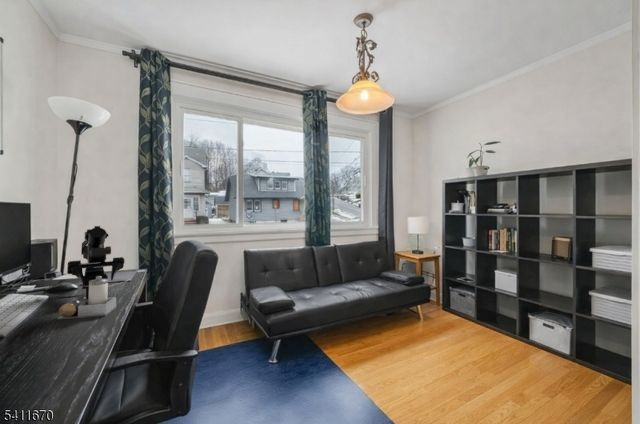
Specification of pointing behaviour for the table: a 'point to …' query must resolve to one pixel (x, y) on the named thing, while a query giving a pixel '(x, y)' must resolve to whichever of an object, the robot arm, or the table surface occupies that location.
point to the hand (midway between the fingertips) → (98, 281)
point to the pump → (98, 291)
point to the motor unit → (86, 308)
